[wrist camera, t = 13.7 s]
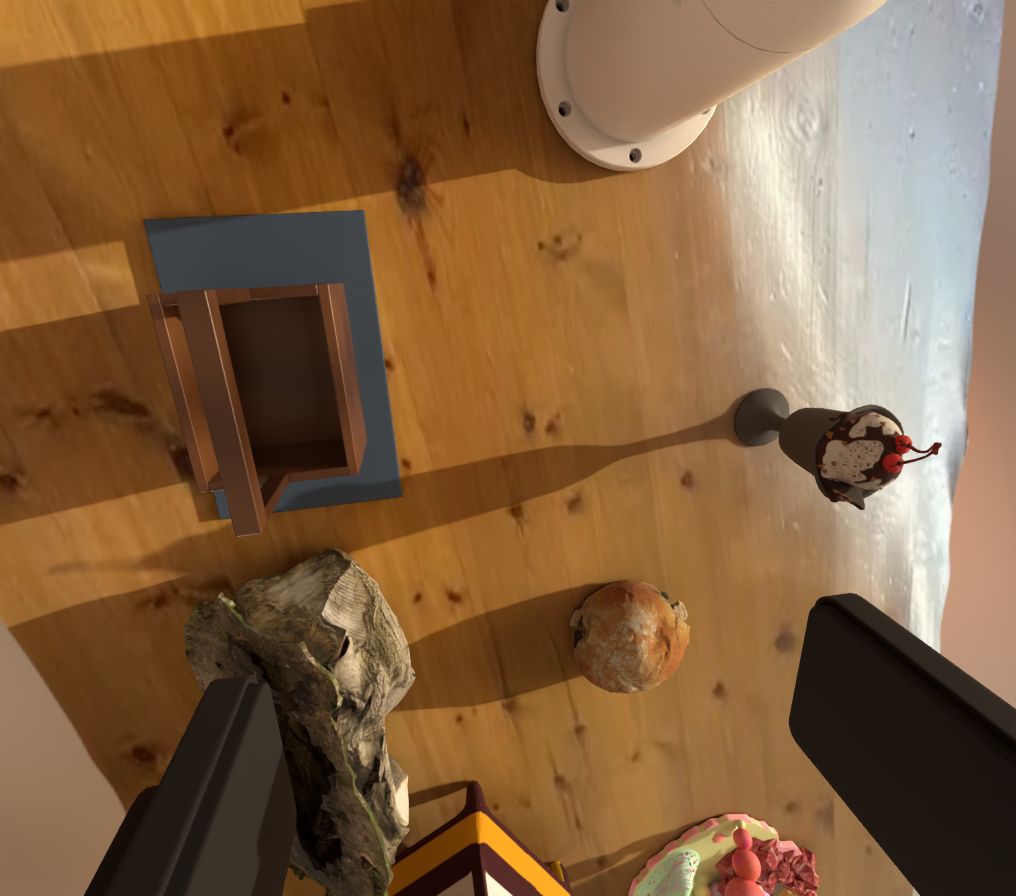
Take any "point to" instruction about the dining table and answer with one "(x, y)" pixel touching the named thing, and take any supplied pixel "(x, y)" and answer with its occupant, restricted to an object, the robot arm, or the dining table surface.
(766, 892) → the candy landscape model
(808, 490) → the dining table surface
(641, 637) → the bread roll
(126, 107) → the dining table surface
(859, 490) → the sundae
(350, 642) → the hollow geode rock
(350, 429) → the basket
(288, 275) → the placemat
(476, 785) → the decorative lantern
